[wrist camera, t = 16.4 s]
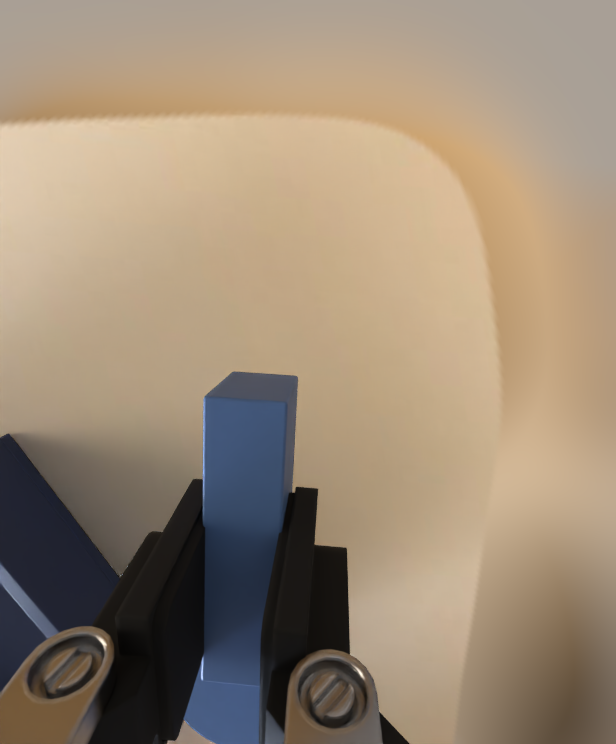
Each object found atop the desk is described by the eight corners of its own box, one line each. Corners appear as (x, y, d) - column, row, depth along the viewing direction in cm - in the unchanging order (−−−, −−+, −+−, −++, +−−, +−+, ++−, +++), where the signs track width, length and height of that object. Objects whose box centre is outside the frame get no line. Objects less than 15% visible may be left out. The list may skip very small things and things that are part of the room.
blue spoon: (186, 367, 10) (144, 392, 8) (344, 378, 10) (347, 406, 8) (187, 693, 12) (153, 789, 10) (320, 707, 12) (316, 807, 10)
